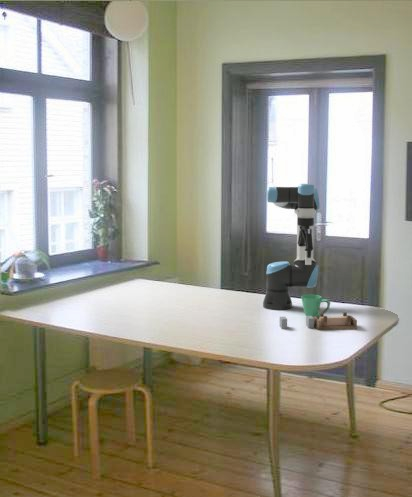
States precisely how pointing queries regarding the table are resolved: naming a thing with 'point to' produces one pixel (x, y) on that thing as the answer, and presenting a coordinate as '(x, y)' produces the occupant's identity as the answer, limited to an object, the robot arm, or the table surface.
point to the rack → (350, 325)
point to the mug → (313, 304)
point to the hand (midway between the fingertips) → (304, 262)
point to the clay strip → (335, 320)
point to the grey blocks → (308, 322)
